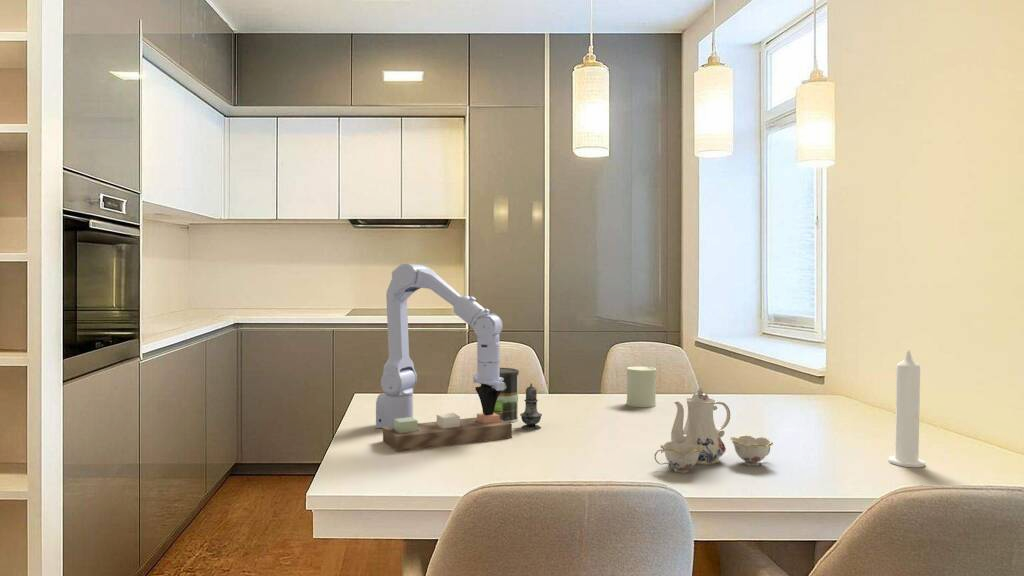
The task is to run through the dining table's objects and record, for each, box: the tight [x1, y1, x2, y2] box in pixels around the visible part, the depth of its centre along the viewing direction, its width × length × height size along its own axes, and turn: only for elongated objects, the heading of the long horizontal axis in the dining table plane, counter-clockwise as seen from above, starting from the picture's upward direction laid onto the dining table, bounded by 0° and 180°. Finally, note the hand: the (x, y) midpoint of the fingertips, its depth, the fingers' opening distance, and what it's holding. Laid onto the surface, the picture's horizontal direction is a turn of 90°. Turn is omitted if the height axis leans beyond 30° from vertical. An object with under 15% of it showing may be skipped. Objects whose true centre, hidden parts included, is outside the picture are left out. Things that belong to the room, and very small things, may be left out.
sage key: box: [394, 417, 418, 433], centre depth 167 cm, size 4×4×3 cm
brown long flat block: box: [382, 416, 513, 453], centre depth 173 cm, size 30×11×4 cm, turn 117°
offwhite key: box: [436, 412, 461, 429], centre depth 173 cm, size 4×4×3 cm
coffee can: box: [494, 367, 520, 424], centre depth 196 cm, size 10×10×14 cm
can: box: [625, 365, 657, 409], centre depth 218 cm, size 9×9×12 cm
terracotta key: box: [476, 412, 500, 424], centre depth 178 cm, size 4×4×3 cm
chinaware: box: [654, 387, 774, 474], centre depth 152 cm, size 28×17×17 cm, turn 113°
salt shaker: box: [520, 383, 543, 431], centre depth 186 cm, size 6×6×12 cm
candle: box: [887, 349, 926, 469], centre depth 152 cm, size 7×7×25 cm
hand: (488, 414), depth 178 cm, fingers closed, pressing on terracotta key
